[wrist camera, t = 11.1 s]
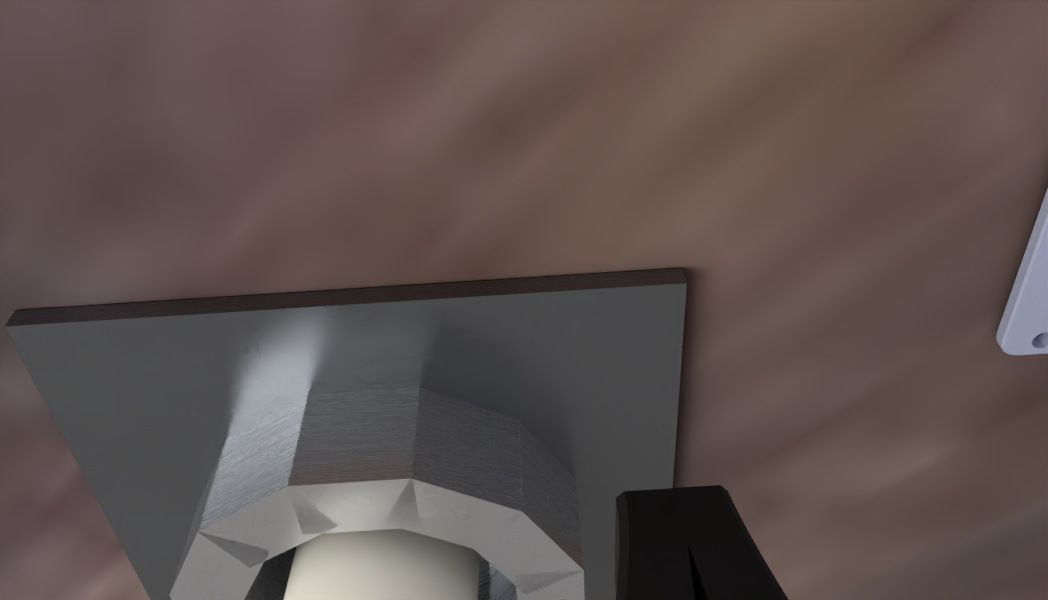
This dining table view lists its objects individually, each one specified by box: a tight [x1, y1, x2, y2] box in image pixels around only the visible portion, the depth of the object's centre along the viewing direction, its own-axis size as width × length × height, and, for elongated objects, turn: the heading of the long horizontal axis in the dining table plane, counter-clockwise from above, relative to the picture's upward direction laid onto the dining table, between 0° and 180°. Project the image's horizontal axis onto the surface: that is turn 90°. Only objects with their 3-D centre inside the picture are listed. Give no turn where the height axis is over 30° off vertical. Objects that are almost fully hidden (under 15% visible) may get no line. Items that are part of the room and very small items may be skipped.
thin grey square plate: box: [5, 268, 687, 600], centre depth 25 cm, size 16×16×4 cm
